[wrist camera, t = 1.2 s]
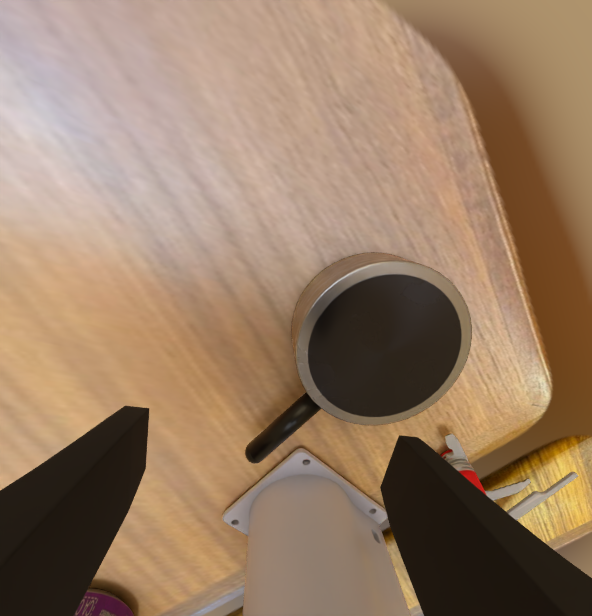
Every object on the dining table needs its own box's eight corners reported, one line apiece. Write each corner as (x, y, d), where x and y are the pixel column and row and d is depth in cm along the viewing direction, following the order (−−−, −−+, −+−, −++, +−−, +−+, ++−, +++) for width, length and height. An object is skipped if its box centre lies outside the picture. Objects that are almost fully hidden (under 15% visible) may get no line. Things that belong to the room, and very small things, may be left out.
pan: (467, 325, 18) (505, 347, 15) (299, 468, 20) (303, 511, 17) (376, 216, 15) (400, 217, 13) (195, 393, 18) (181, 428, 15)
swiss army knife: (569, 411, 17) (542, 389, 19) (351, 487, 20) (347, 461, 22) (604, 527, 20) (579, 499, 22) (415, 576, 23) (407, 547, 25)
